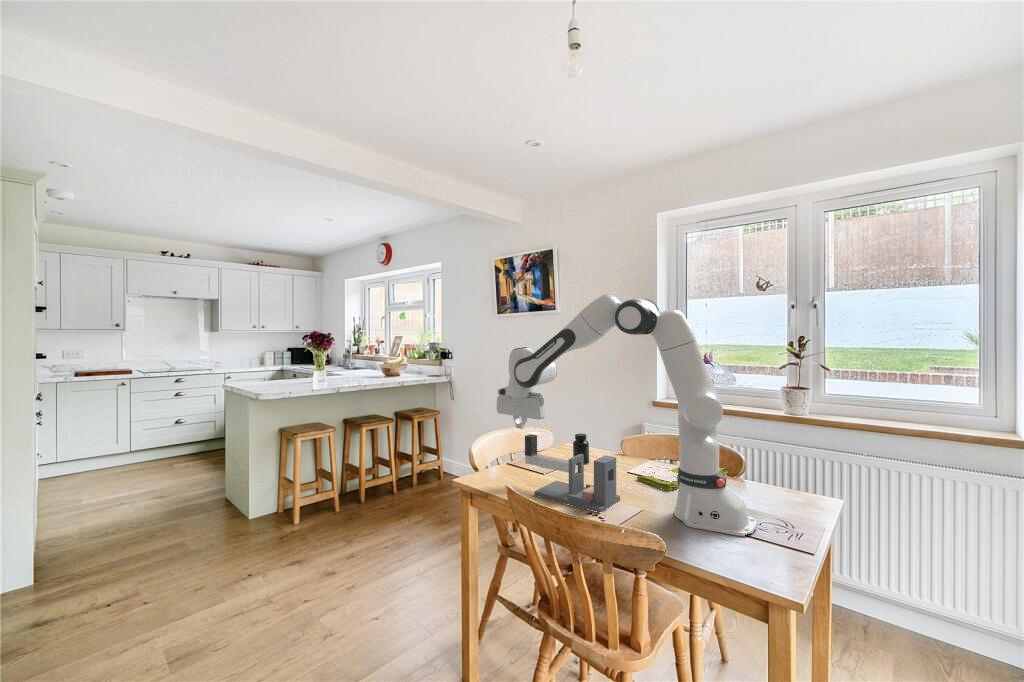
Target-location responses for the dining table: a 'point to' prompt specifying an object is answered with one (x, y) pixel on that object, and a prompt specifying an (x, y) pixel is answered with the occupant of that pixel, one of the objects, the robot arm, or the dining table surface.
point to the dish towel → (668, 485)
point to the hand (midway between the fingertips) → (520, 428)
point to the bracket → (574, 488)
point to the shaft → (540, 460)
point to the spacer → (588, 493)
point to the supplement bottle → (581, 447)
